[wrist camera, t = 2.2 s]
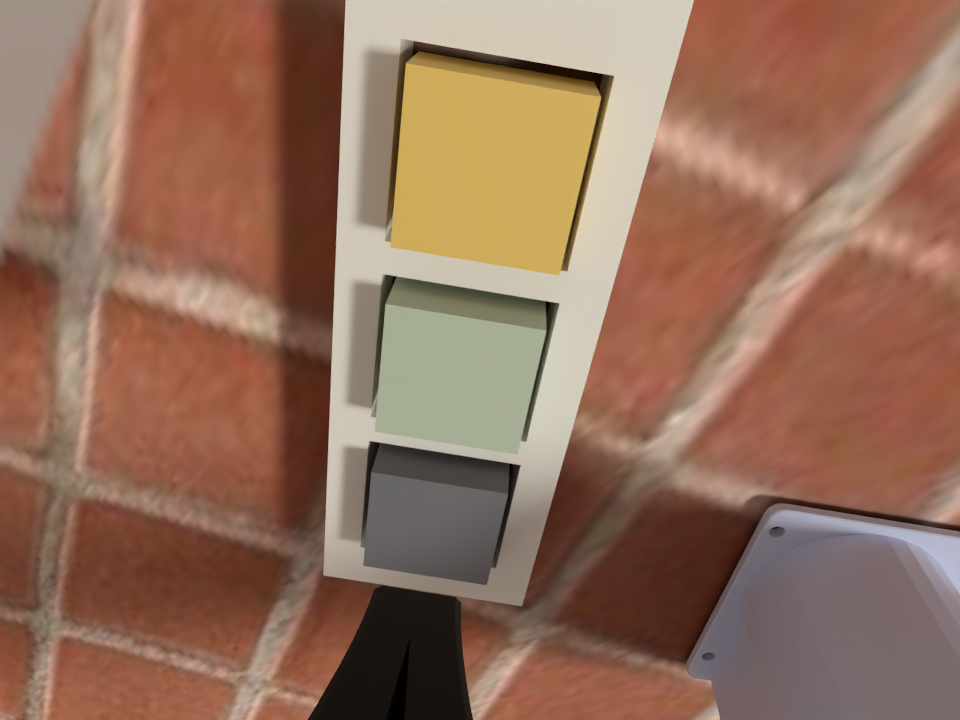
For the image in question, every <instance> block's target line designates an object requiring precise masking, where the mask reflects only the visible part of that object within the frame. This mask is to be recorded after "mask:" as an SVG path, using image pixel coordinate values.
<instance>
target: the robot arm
mask: <svg viewBox="0 0 960 720" xmlns="http://www.w3.org/2000/svg"><path fill="white" fill-rule="evenodd" d="M774 527H778V528H776V529H771V528H774ZM686 667H687V671H688V674H689V675H690V676H692V677H694V678H698V679H705V680H711V682H712V686H713V690H714V694H715V698H716V703H717V707H718V711H719V715H720V719H721V720H960V532H959V531H953V530H947V529H941V528H935V527H928V526H922V525H916V524H910V523H903V522H897V521H891V520H885V519H879V518H872V517H866V516H860V515H854V514H847V513H841V512H835V511H829V510H823V509H816V508H810V507H804V506H798V505H791V504H785V503H778V504H775V505H772V506H771V507H769V508H768V509H767V510H766V511H765V513H764V515H763V517H762V518H761V520H760V522H759V524H758V526H757V528H756V530H755V532H754V534H753V536H752V538H751V540H750V541H749V543H748V545H747V547H746V549H745V551H744V553H743V555H742V557H741V559H740V561H739V563H738V564H737V566H736V568H735V570H734V572H733V574H732V576H731V578H730V580H729V582H728V584H727V586H726V587H725V589H724V591H723V593H722V595H721V597H720V599H719V601H718V603H717V605H716V607H715V609H714V610H713V612H712V614H711V616H710V618H709V620H708V622H707V624H706V626H705V628H704V630H703V632H702V634H701V635H700V637H699V639H698V641H697V643H696V645H695V647H694V649H693V651H692V653H691V655H690V657H689V658H688V660H687V663H686ZM308 720H473V718H472V713H471V707H470V702H469V696H468V690H467V683H466V675H465V668H464V660H463V650H462V638H461V602H460V601H459V600H458V599H457V598H456V597H452V596H446V595H439V594H433V593H426V592H420V591H413V590H407V589H401V588H394V587H388V586H380V587H378V588H376V589H374V592H373V595H372V597H371V600H370V603H369V606H368V608H367V610H366V613H365V615H364V617H363V620H362V622H361V624H360V626H359V629H358V631H357V633H356V635H355V637H354V639H353V641H352V643H351V645H350V647H349V649H348V650H347V652H346V654H345V656H344V658H343V660H342V662H341V664H340V666H339V667H338V669H337V671H336V673H335V674H334V676H333V678H332V679H331V681H330V683H329V685H328V686H327V688H326V690H325V692H324V693H323V695H322V697H321V698H320V700H319V702H318V704H317V705H316V707H315V709H314V710H313V712H312V714H311V715H310V717H309V718H308Z"/></svg>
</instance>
